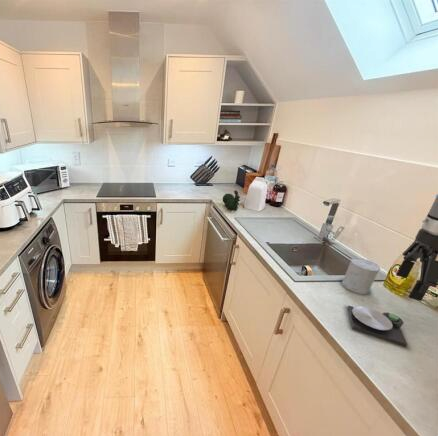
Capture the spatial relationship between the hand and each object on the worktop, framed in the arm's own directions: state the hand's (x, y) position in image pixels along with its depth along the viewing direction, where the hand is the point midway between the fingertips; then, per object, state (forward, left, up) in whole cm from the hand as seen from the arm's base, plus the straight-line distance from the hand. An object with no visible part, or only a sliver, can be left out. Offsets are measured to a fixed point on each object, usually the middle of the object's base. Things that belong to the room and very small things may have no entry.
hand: (407, 286), depth 81 cm
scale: (+5, +5, -17) cm, 18 cm away
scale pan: (+6, +5, -14) cm, 16 cm away
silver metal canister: (+7, -19, -17) cm, 27 cm away
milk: (+62, -102, -17) cm, 121 cm away
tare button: (0, +1, -14) cm, 14 cm away
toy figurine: (+79, -90, -17) cm, 121 cm away
